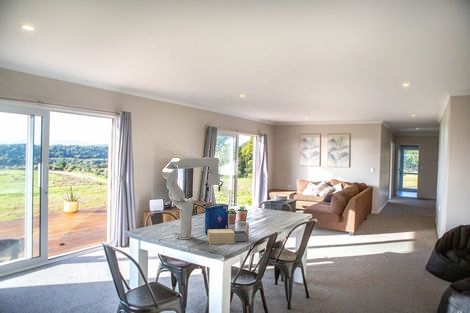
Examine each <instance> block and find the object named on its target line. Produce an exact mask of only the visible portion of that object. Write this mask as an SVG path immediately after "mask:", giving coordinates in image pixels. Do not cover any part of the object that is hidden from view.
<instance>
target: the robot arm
mask: <svg viewBox="0 0 470 313" xmlns="http://www.w3.org/2000/svg"><path fill="white" fill-rule="evenodd" d="M219 163H220V159H219V158H218V157H207V156H205V157H185V158H184V157H183V158H182V157H181V158H180V157H179V158H178V157H177V158H175V157H174V158H172V159H171V160H170V161H169V162H168V164H167V165H166V166H165V167H164V168H163V170H162V171H161V176H162V178H163V179H165V180H166V182H165V185H166V188H167V190H168V197H169V199H170V201H171V202H172V203H173V204H174V206H175V207H176V208H177V209H179V210H181V211H180V214H179V232H178V231H177V232H173V235H174V236H177V238H178V239H181V240H190V239H193V238H194V234H192V227H193V226H192V224H193V220H192V219H193V209H194V202H193V201H192V199H189V198H186V194H185V192H184V190H183V189H182V188H181V187H180V185H179V184H178V182H177V180H178V175H179V174H178V170H184V169H198V168H208V167H209V170H207V172H208V178H207V179H206V180H205V181H203V183H204V185H205V187H206V192H207V193H208V192H209V191H210V186H218V192H219V193H220V192H221V187H222V186H223V185H224V183H225V182H224V181H223V180H221V176H220V173H219V167H220V166H219ZM177 169H178V170H177Z"/></svg>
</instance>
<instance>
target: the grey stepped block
mask: <svg viewBox="0 0 470 313" xmlns="http://www.w3.org/2000/svg"><path fill="white" fill-rule="evenodd" d="M233 231H234V233H235V236H234V242H249V238H250V237H249V234H250V223H248V222H245V230H233Z"/></svg>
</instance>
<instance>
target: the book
mask: <svg viewBox="0 0 470 313" xmlns="http://www.w3.org/2000/svg"><path fill="white" fill-rule="evenodd" d="M211 229H229V204H226V203H216V204H211V205H206V206H204V234H206V235H207V236H208V230H211Z"/></svg>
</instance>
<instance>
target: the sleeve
mask: <svg viewBox="0 0 470 313" xmlns="http://www.w3.org/2000/svg"><path fill="white" fill-rule="evenodd" d="M234 231H235V230H233V229H232V228H228V229H211V230H208V235H207V242H208V244H210V245H211V244H234V243H235V241H234V236H235V233H234Z"/></svg>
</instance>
